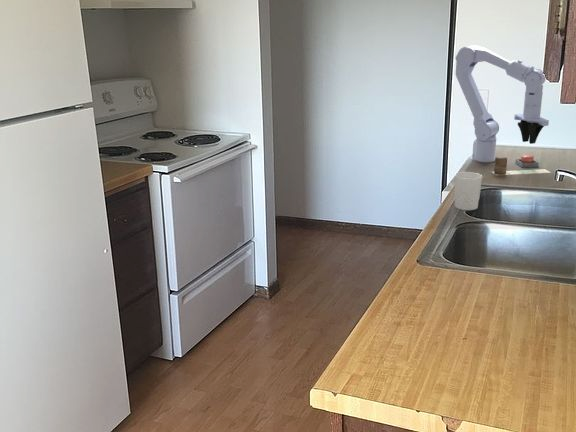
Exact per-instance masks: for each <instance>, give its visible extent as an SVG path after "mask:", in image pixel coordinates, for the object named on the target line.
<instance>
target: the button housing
mask: <svg viewBox="0 0 576 432" xmlns="http://www.w3.org/2000/svg"><path fill="white" fill-rule="evenodd" d="M515 165H517V166H518V167H521V168H539V162H538V161H537V160H535V159H534V161H533V163H522V162H521V158H518V159H517V158H515Z"/></svg>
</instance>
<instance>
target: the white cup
mask: <svg viewBox="0 0 576 432" xmlns="http://www.w3.org/2000/svg"><path fill="white" fill-rule="evenodd" d="M482 182H483V175H482V174H481V173H478V172H472V171H462V172H461V171H460V172H456V173H455V174H454V207H455V208H456V209H458V210H461V211H474V210H477V209H478V207H479V200H480V195H481V189H482V188H481V187H482Z"/></svg>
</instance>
